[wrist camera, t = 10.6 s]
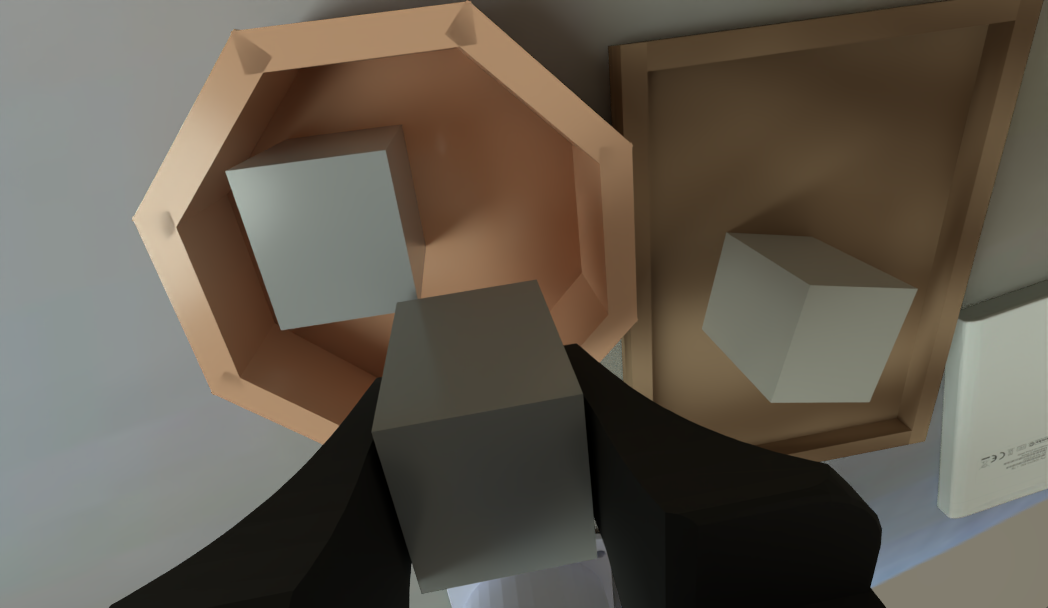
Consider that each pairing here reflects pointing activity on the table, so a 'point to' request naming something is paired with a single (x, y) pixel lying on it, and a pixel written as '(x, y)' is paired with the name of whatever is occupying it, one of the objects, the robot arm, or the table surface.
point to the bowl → (440, 185)
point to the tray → (815, 192)
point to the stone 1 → (333, 225)
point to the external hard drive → (996, 404)
